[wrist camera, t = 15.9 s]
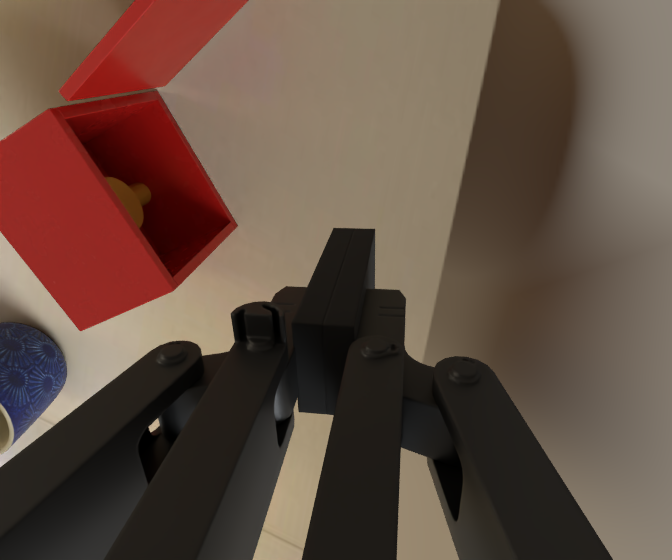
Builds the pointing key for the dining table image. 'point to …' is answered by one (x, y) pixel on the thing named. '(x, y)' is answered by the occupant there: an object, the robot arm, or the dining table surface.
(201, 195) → the cabinet
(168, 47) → the door
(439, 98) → the dining table surface
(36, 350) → the planter
